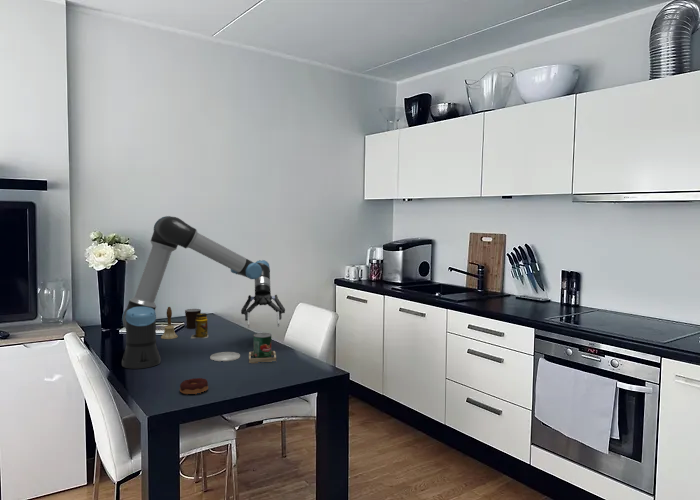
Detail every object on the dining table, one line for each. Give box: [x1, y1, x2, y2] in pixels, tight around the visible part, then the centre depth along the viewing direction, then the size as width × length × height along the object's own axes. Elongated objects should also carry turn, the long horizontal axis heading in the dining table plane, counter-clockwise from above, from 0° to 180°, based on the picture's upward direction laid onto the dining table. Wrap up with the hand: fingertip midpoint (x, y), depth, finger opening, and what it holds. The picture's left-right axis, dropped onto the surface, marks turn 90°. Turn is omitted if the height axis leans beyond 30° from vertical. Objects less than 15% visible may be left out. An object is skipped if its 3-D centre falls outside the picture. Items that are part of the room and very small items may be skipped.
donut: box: [179, 377, 209, 395], centre depth 180 cm, size 10×10×4 cm
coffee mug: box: [184, 308, 202, 330], centre depth 283 cm, size 12×9×10 cm
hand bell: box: [160, 306, 178, 340], centre depth 258 cm, size 8×8×16 cm
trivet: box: [209, 351, 241, 362], centre depth 224 cm, size 13×13×1 cm
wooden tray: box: [248, 350, 277, 364], centre depth 221 cm, size 12×12×2 cm
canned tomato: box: [253, 332, 272, 358], centre depth 221 cm, size 8×8×11 cm
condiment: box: [190, 312, 209, 339], centre depth 261 cm, size 7×8×12 cm
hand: (263, 325), depth 230 cm, fingers open, 13 cm apart
